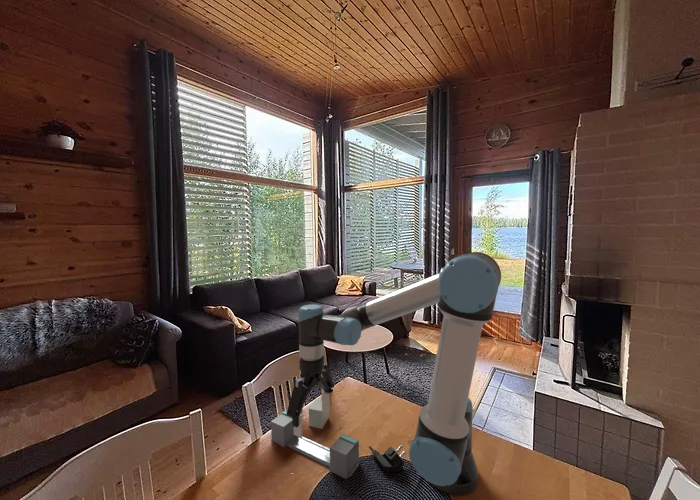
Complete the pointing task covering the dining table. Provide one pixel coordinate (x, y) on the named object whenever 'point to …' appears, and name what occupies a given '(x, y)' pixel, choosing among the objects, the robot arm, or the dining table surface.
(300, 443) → the rail
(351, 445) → the block
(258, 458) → the dining table surface
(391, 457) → the power plug
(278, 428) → the block
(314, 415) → the block
